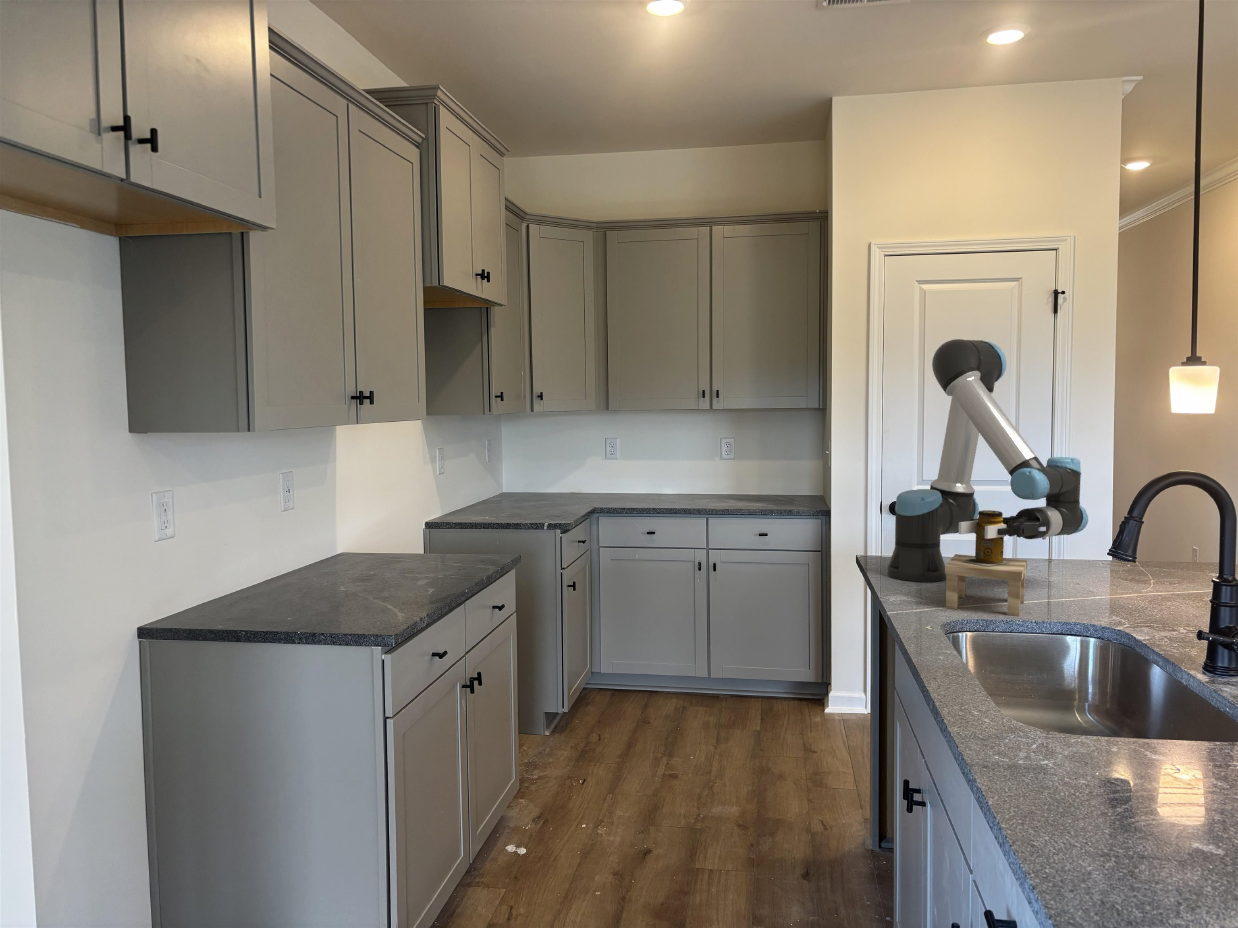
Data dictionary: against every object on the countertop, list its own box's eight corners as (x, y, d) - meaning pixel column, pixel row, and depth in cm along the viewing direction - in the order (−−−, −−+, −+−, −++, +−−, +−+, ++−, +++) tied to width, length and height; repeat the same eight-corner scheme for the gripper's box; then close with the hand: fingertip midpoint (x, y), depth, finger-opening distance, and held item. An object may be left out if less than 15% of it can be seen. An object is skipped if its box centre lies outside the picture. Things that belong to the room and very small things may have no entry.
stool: (954, 593, 206) (955, 554, 206) (1025, 601, 198) (1026, 560, 198) (944, 607, 193) (945, 565, 192) (1020, 616, 185) (1021, 572, 184)
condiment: (1011, 562, 194) (1012, 511, 193) (989, 566, 190) (991, 514, 189) (982, 557, 200) (984, 508, 199) (961, 561, 196) (962, 511, 195)
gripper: (1074, 544, 194) (1009, 553, 183) (1001, 532, 211) (938, 540, 201) (1075, 512, 194) (1010, 519, 183) (1002, 503, 211) (939, 509, 200)
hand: (973, 530), depth 192 cm, fingers open, 6 cm apart
